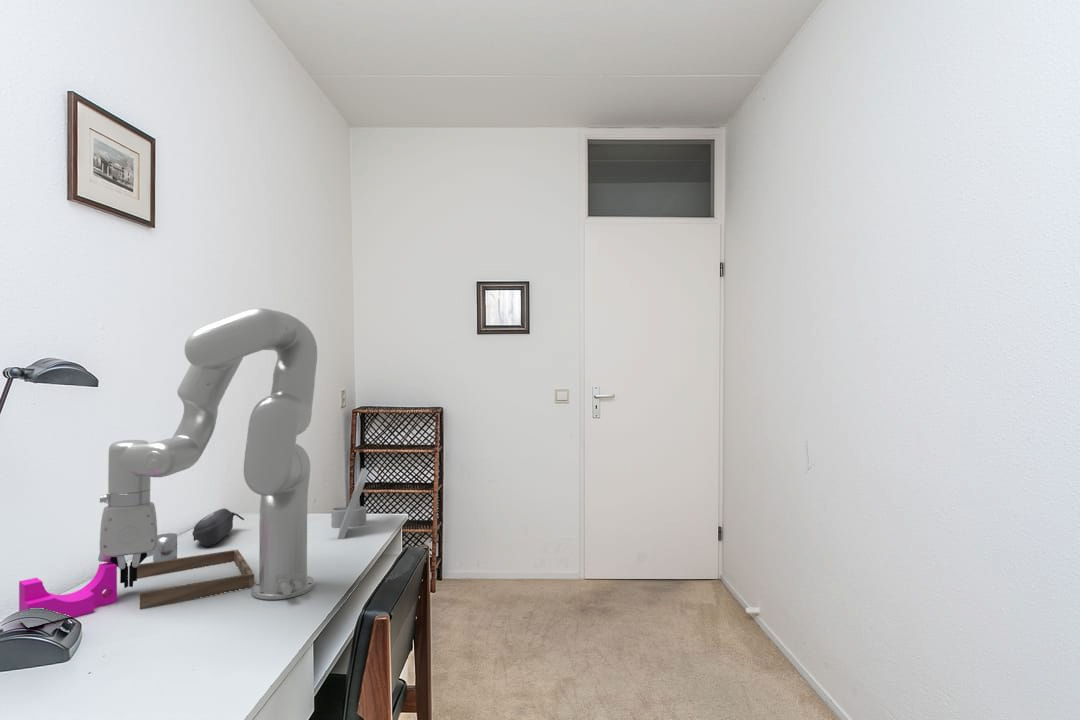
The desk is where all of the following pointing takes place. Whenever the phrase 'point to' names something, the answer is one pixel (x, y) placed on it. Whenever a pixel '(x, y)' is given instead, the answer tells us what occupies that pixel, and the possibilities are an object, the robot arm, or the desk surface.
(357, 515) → the phone holder
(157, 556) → the metal peg
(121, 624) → the desk surface
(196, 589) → the bay
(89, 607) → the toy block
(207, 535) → the glasses case
